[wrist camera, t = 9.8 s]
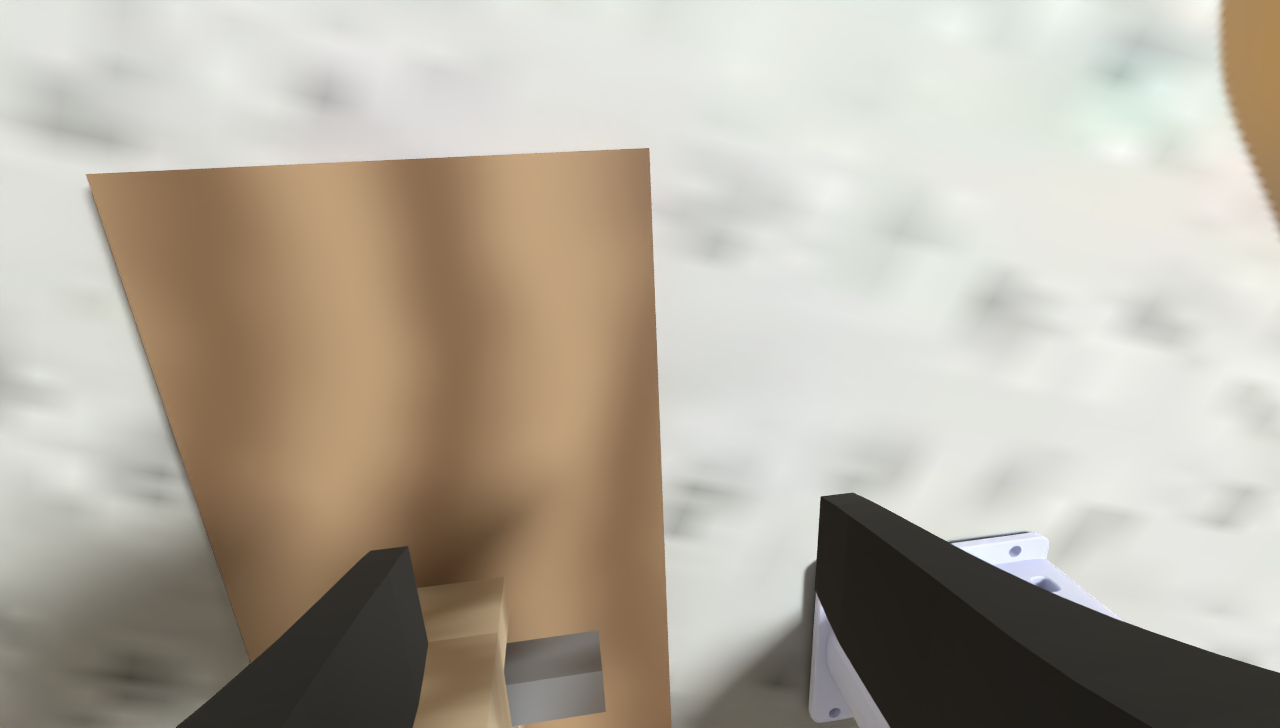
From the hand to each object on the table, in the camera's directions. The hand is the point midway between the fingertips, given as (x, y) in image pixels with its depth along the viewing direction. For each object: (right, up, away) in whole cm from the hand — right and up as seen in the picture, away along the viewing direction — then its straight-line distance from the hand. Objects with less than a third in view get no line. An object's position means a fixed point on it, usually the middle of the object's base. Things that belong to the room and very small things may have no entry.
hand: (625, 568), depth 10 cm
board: (-6, -2, +10) cm, 12 cm away
